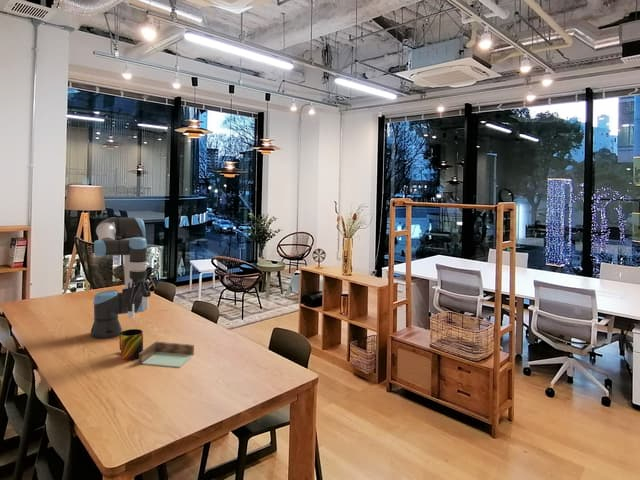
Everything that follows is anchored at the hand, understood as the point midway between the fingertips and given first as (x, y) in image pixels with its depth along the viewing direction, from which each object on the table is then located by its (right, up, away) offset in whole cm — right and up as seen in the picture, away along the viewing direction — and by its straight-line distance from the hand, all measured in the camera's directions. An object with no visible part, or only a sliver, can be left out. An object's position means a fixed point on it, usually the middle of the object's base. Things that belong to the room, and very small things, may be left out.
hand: (138, 313), depth 203 cm
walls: (+15, -21, -3) cm, 26 cm away
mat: (+16, -21, -4) cm, 27 cm away
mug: (-4, -20, -2) cm, 21 cm away
